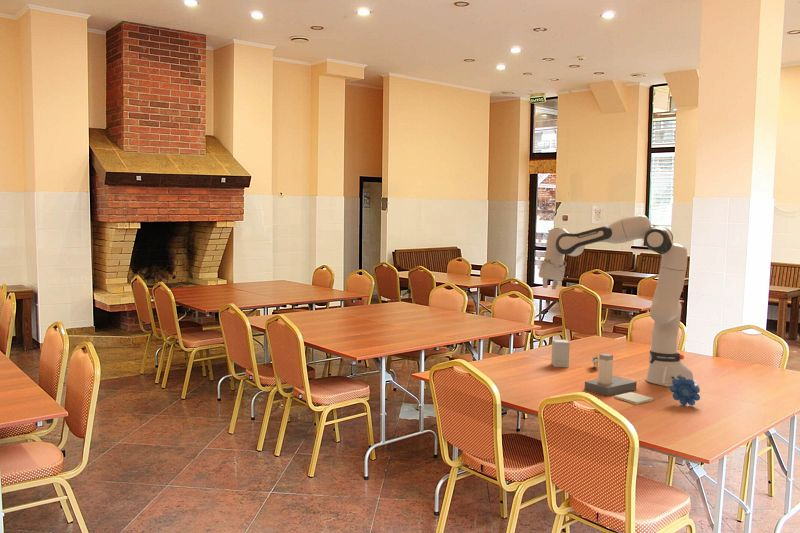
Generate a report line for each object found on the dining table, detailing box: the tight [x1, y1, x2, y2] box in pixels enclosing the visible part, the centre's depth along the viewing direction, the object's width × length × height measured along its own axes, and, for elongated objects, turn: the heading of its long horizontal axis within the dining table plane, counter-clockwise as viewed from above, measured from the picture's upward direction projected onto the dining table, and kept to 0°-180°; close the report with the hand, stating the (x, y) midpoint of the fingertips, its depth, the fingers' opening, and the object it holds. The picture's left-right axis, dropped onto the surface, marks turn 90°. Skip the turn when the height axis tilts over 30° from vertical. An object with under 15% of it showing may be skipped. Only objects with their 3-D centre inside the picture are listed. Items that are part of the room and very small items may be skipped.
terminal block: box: [584, 375, 638, 397], centre depth 299 cm, size 20×12×4 cm, turn 125°
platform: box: [591, 354, 599, 371], centre depth 336 cm, size 12×18×7 cm, turn 162°
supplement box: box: [550, 339, 571, 368], centre depth 341 cm, size 7×7×13 cm
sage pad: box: [614, 391, 654, 405], centre depth 284 cm, size 11×11×1 cm
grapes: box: [669, 376, 701, 406], centre depth 276 cm, size 12×7×12 cm, turn 70°
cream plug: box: [597, 352, 614, 385], centre depth 296 cm, size 4×4×16 cm
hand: (549, 288), depth 333 cm, fingers open, 8 cm apart
